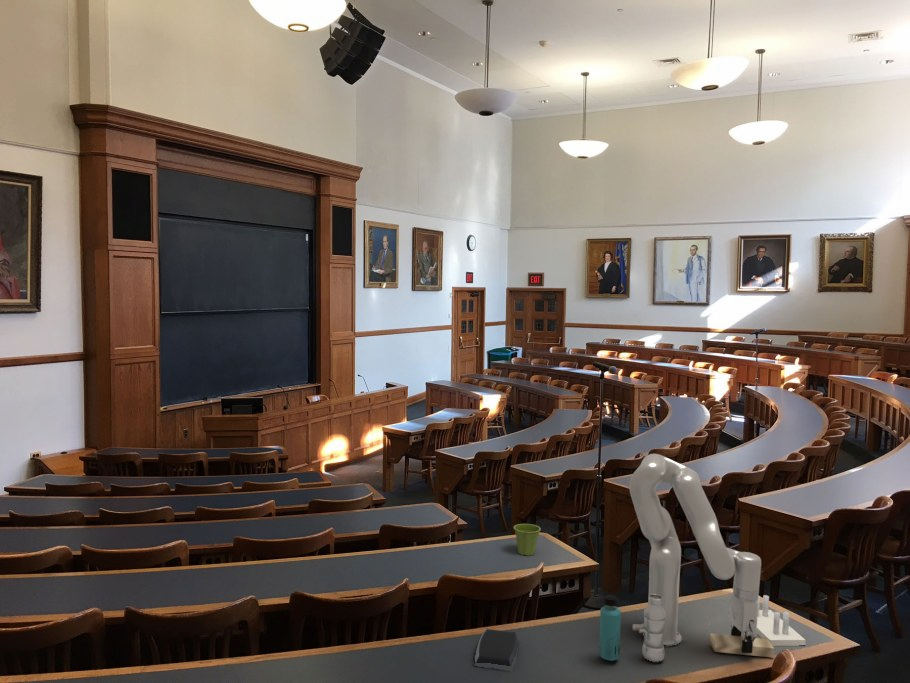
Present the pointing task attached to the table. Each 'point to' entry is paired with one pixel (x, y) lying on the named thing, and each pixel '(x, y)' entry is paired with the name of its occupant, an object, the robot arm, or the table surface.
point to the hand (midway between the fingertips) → (741, 646)
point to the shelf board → (740, 645)
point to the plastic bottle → (654, 629)
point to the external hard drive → (497, 647)
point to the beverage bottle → (609, 629)
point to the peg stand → (776, 626)
